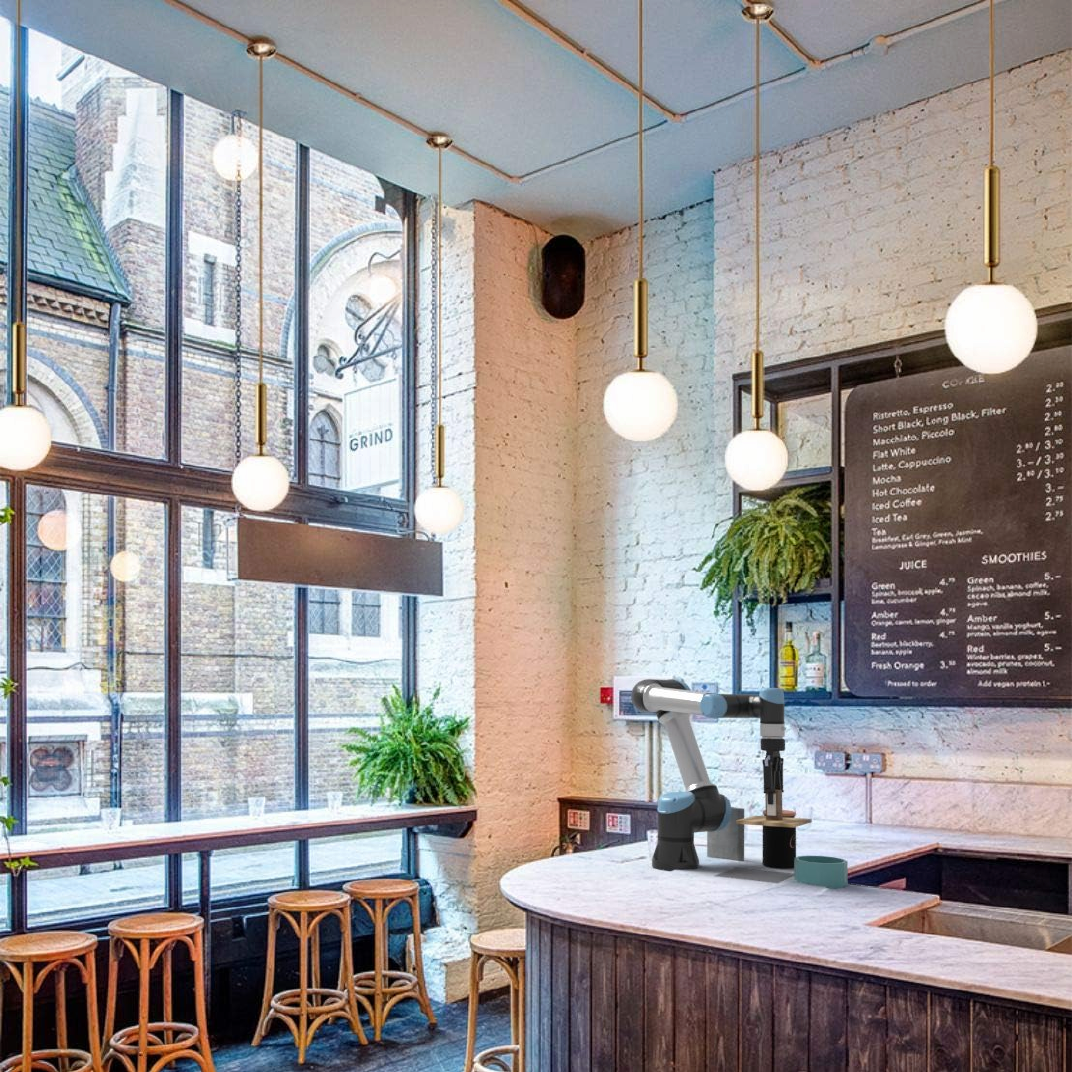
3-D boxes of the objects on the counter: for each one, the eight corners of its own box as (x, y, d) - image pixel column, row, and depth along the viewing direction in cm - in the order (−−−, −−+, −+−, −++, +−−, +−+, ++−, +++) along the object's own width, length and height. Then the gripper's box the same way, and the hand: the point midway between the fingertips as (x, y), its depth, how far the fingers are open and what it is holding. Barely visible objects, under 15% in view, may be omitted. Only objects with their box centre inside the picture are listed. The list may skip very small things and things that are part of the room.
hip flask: (746, 862, 385) (746, 801, 387) (737, 863, 382) (737, 801, 385) (711, 855, 397) (712, 796, 400) (703, 856, 395) (703, 797, 397)
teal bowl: (789, 884, 345) (789, 860, 346) (803, 877, 358) (803, 854, 359) (839, 889, 338) (839, 865, 339) (852, 882, 351) (851, 858, 352)
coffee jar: (796, 871, 368) (796, 814, 370) (762, 869, 370) (762, 812, 372) (795, 866, 379) (795, 810, 381) (762, 864, 381) (762, 808, 383)
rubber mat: (713, 877, 353) (713, 875, 353) (735, 869, 370) (735, 867, 370) (777, 885, 343) (777, 883, 343) (796, 875, 361) (796, 873, 361)
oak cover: (736, 823, 352) (735, 790, 354) (756, 818, 368) (755, 786, 369) (793, 827, 343) (792, 793, 345) (811, 822, 359) (810, 789, 360)
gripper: (775, 738, 350) (777, 817, 347) (792, 737, 365) (794, 813, 361) (751, 738, 354) (753, 816, 351) (770, 736, 368) (771, 811, 365)
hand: (774, 814), depth 356 cm, fingers closed on oak cover, 4 cm apart
